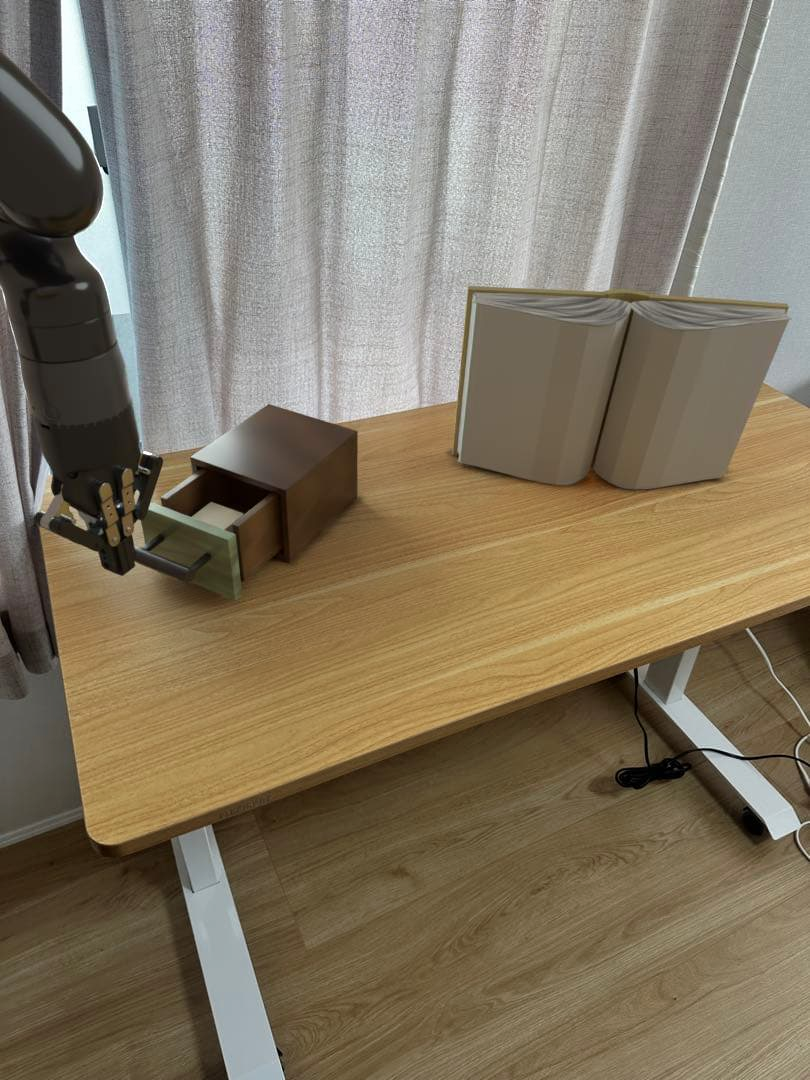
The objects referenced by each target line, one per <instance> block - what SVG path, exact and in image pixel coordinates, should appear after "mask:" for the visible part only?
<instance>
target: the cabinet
mask: <svg viewBox="0 0 810 1080" xmlns="http://www.w3.org/2000/svg"><path fill="white" fill-rule="evenodd" d="M358 434H359V433H358V430H355V429H353V428H349V427H346V426H343V425H339V424H336V423H333V422H330V421H326V420H323V419H320V418H316V417H313V416H310V415H306V414H303V413H300V412H296V411H294V410H290V409H287V408H284V407H283V408H282V407H280V406H278V405H274V404H270V403H268V404H267V405H265V406H264V407H262V408H260V409H259V410H258V411H257V412H254V413H253V414H252V415H250V416H248V417H247V418H246V419H245V420H242V421H241V422H239V423H238V424H236V426H234V427H232V428H230V430H228V431H226V432H225V433H223V434H222V435H220V436H219V437H218V438H215V440H213V441H212V442H210V443H209V444H207V445H206V446H205V447H203V448H201V449H200V450H198V451H197V452H196V453H194V454H192V455H191V456H190V457H189V458H190V466H191V474H192V475H193V474H195V473H196V472H197V471H199V470H200V469H202V468H206V469H209V470H212V471H215V472H218V473H220V474H223V475H226V476H229V477H232V478H235V479H238V480H240V481H243V482H246V483H249V484H252V485H255V486H258V487H260V488H263V489H266V490H269V491H272V492H275V493H277V494H280V498H281V514H282V529H283V544H284V547H283V548H282V549H281V550H280V551H279V552H277V553H276V554H275V555H274V556H273V557H275V558H277V559H280V560H283V561H285V562H287V563H292V562H293V560H295V559H296V558H297V557H299V555H301V553H302V552H303V551H305V549H306V548H307V547H308V546H310V545H311V544H312V543H313V542H314V541H315V540H316V539H317V538H318V537H319V536H320V535H321V534H323V532H324V531H325V530H326V529H328V527H330V526H331V525H332V524H333V523H334V522H335V521H336V520H337V519H338V518H339V517H340V516H341V515H342V514H343V513H345V511H347V509H348V508H349V507H351V506H352V505H353V504H354V503H355V502H356V501H357V500H358V452H359V451H358V450H359V449H358V446H359V445H358V444H359V443H358V440H359V439H358V438H359V437H358V436H359V435H358Z"/></svg>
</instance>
